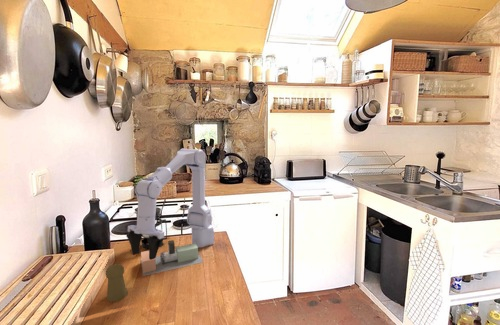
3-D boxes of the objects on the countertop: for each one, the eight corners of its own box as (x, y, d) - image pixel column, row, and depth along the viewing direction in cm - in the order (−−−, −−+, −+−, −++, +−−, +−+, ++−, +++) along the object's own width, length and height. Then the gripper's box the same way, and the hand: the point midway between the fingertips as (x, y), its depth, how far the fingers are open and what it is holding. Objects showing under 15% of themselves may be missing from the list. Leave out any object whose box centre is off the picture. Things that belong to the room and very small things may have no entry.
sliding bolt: (194, 252, 111) (194, 235, 110) (196, 255, 108) (195, 238, 107) (160, 259, 105) (159, 242, 104) (161, 263, 103) (160, 245, 101)
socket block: (153, 259, 107) (153, 249, 106) (156, 269, 100) (155, 259, 99) (141, 262, 105) (140, 252, 104) (143, 272, 98) (142, 261, 97)
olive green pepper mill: (122, 289, 90) (119, 259, 88) (131, 297, 86) (128, 265, 84) (103, 299, 85) (100, 267, 83) (112, 307, 81) (108, 274, 79)
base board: (196, 250, 116) (195, 248, 116) (203, 264, 105) (203, 261, 105) (140, 262, 107) (140, 260, 106) (142, 278, 96) (142, 276, 96)
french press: (138, 253, 114) (134, 201, 110) (140, 243, 123) (136, 195, 119) (167, 249, 117) (164, 198, 114) (167, 240, 126) (164, 192, 122)
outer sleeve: (195, 253, 112) (195, 243, 111) (198, 258, 108) (198, 247, 107) (176, 257, 108) (175, 247, 108) (178, 262, 105) (177, 252, 104)
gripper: (121, 214, 90) (118, 255, 90) (154, 221, 84) (151, 264, 84) (137, 211, 96) (135, 249, 96) (169, 217, 90) (167, 257, 90)
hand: (144, 256), depth 91 cm, fingers open, 7 cm apart
